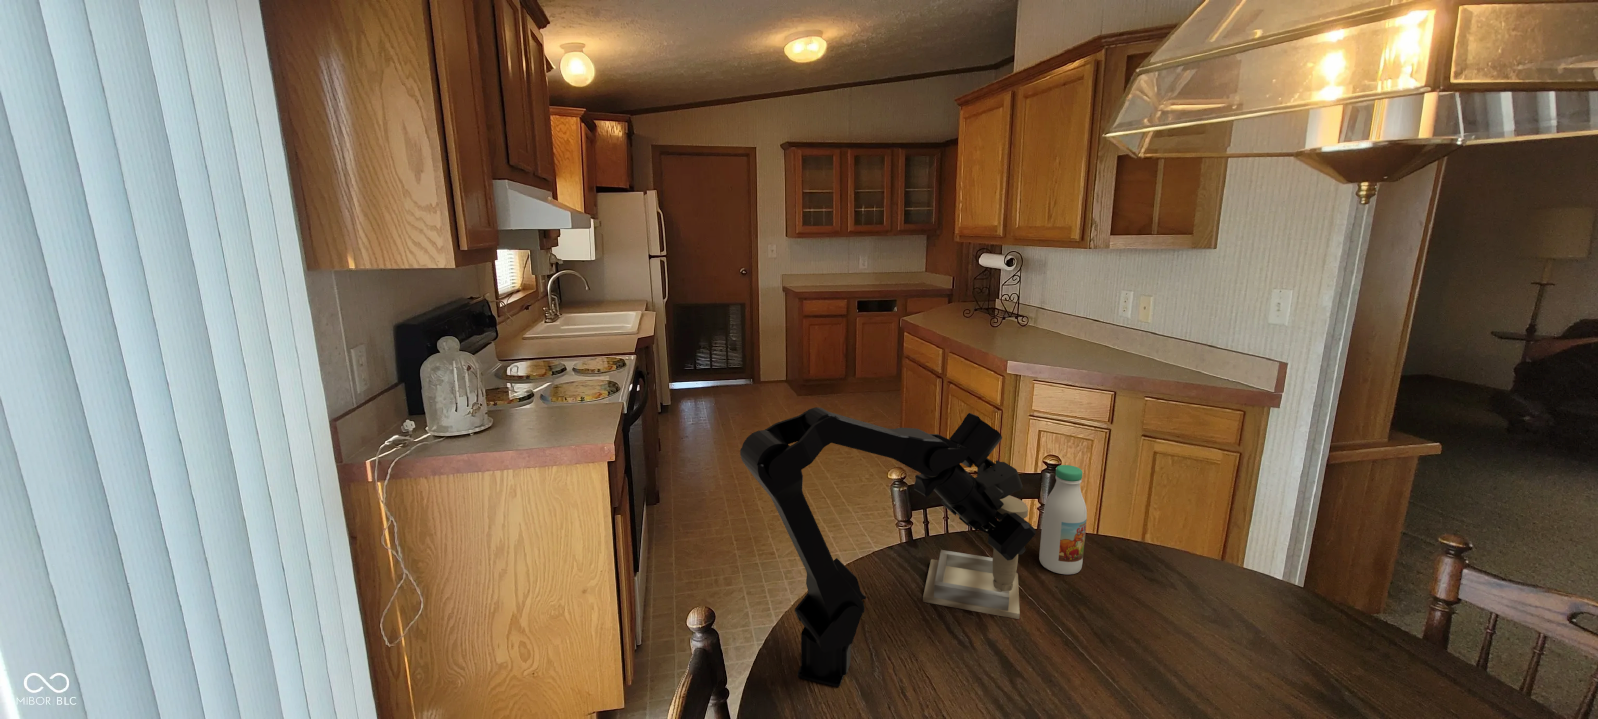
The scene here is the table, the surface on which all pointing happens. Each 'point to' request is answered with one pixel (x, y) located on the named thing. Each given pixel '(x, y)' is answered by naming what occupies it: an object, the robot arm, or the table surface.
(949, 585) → the board
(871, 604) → the table surface
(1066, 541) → the milk bottle
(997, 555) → the handle
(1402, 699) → the table surface
